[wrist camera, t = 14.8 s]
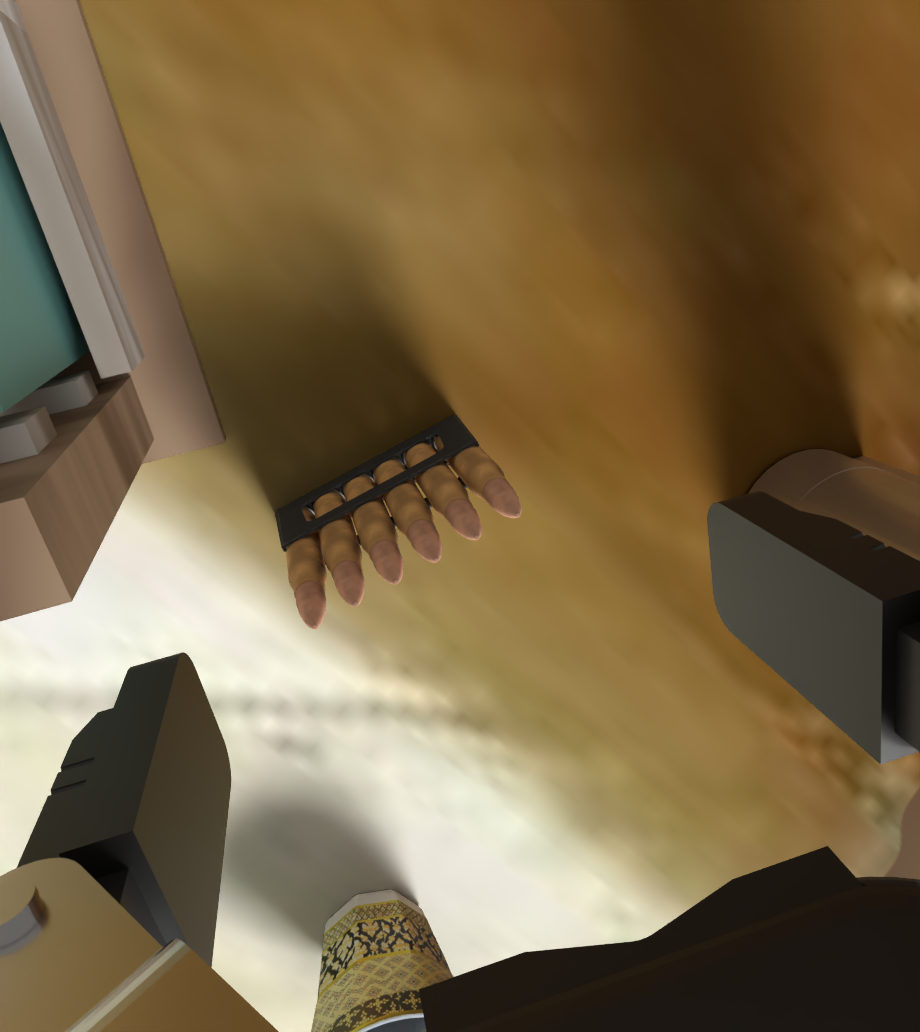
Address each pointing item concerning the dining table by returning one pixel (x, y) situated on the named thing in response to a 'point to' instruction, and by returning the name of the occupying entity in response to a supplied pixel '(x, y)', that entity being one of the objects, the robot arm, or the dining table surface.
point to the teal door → (30, 295)
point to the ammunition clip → (360, 493)
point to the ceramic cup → (377, 966)
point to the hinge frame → (86, 317)
